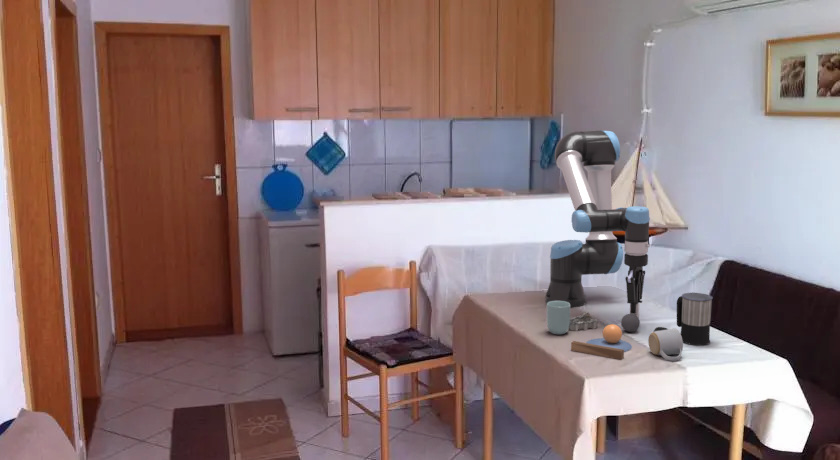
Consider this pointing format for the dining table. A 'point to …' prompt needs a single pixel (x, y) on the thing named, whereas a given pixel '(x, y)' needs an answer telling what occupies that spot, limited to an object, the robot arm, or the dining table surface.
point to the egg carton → (582, 322)
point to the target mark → (611, 344)
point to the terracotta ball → (612, 333)
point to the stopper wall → (597, 350)
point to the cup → (558, 316)
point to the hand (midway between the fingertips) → (634, 321)
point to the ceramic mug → (666, 343)
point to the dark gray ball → (630, 322)
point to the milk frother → (693, 318)
